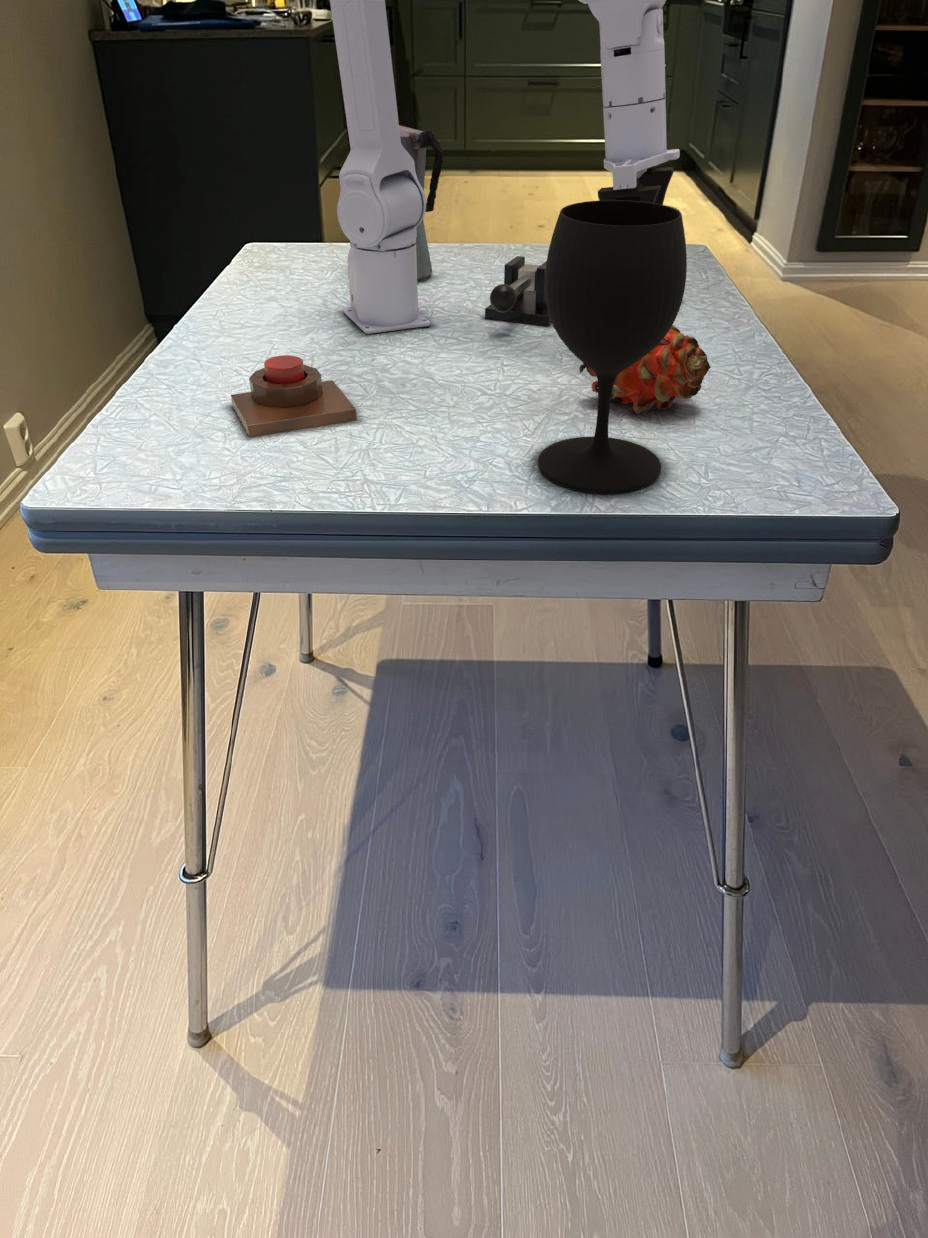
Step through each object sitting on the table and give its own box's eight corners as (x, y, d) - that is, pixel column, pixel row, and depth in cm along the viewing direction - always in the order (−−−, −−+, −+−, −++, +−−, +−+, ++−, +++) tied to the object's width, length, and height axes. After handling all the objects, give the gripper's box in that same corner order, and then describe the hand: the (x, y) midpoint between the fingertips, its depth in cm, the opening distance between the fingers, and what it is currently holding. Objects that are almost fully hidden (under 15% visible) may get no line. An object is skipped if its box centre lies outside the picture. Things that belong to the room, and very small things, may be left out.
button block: (249, 438, 84) (244, 406, 82) (229, 401, 91) (225, 371, 89) (357, 421, 87) (354, 390, 85) (330, 387, 94) (327, 357, 92)
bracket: (548, 326, 110) (550, 275, 106) (484, 318, 112) (485, 268, 109) (571, 305, 116) (574, 256, 113) (511, 297, 119) (512, 249, 116)
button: (270, 388, 87) (268, 370, 86) (262, 375, 89) (260, 357, 88) (309, 383, 88) (307, 365, 87) (299, 370, 91) (297, 352, 90)
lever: (510, 317, 104) (511, 289, 103) (485, 313, 105) (485, 286, 104) (545, 288, 113) (546, 262, 112) (521, 286, 114) (522, 260, 113)
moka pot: (381, 260, 134) (373, 101, 123) (469, 277, 127) (469, 109, 116) (336, 275, 128) (323, 108, 117) (425, 293, 121) (421, 118, 109)
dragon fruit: (711, 429, 89) (584, 436, 92) (710, 353, 92) (587, 362, 95) (711, 378, 81) (573, 388, 84) (710, 296, 84) (576, 308, 87)
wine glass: (516, 452, 81) (523, 204, 70) (620, 432, 85) (643, 192, 73) (574, 504, 74) (593, 234, 62) (686, 480, 77) (724, 220, 65)
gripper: (667, 103, 80) (671, 269, 87) (687, 90, 92) (689, 237, 99) (585, 114, 82) (595, 275, 89) (615, 99, 94) (621, 243, 101)
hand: (639, 256), depth 94 cm, fingers open, 7 cm apart
